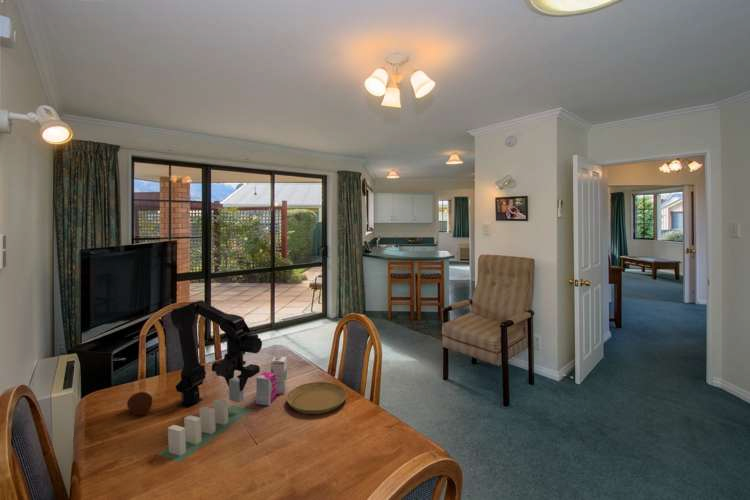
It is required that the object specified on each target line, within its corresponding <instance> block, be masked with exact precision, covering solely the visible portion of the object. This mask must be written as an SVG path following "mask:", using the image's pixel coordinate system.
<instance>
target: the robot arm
mask: <svg viewBox="0 0 750 500" xmlns="http://www.w3.org/2000/svg"><path fill="white" fill-rule="evenodd" d="M197 314H198V315H200V316H202V317H203V318H205V319H207V320H209V321H211V322H213V323H214V324H217V325H218V328H220V330H221V331H222V332H224V334H223V335H222V336H221V339H225V340H226V353H224V356H223V358H221V359H219V360H216V361H215V362H213V363H212V365H211V371H212V372H215V374H216V376H217V377H222V378H224V379H225V382H226V384H227V386H228V388H229V380H230V379H232V378H235V371H236V372H240V374H239V375H237V376H236V379H239V383H240V391H243V392H244V389H245V387H246V384H247V382H248V379H250V378H253V377H254V376H256V375H258V374H259V373H261V370H260V369H261V368H260V365H257V364H252V363H250V364H248V365H246V363H247V362H246V360H244V355H245V354H246V353H249V354H258V353H260V351H261V350H262V346H263V341H262V339H261V338H260V337H259V334H257V333H256V334H255V333H254V334H252V330H251V329H250V327H249V326H248V324H247V323H246V321H245V318H244V317H243V316H241V315H238V314H233V313H227V312H224V311H222V310H220V309H218V308H217V307H215V306H212V305H210V304H208V303H207V302H205V301H204V300H201V299H199V300H196V301H192V302H191V303H189V304H187V305H184V306H180V307H176V308H174V309H172V311H171V312H170V319H171V322H172V325H173V326H174V327H175V328H176V330H177V331H178V336H179V343H180V348H181V355H182V360H183V368H182V370H181V373H180V381H179V382H178V383H177V384H176V385H175V389H176V392H178V393H180V396H181V400H180V401H179V402H178V403H177V405H178V406H182V407H186V408H191V407H192V406H194V405H197V404H198V403H200V402H201V401H203V398H202V397H200V394H201V393H200V386H202V385H203V383H204V380H205V379H206V375H207V372H206V369H205V368H206V367H205V365H204V364H201V363H200V362H199V361H198V354H197V350H196V349H197V347H196V342H195V336H194V329H193V326H194V323H195V320H196V315H197ZM245 365H246V366H245Z"/></svg>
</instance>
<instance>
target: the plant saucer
mask: <svg viewBox="0 0 750 500" xmlns="http://www.w3.org/2000/svg"><path fill="white" fill-rule="evenodd" d="M346 397H347V390H346V388H345V387H343V386H342V385H340V384H337V383H333V382H328V381H327V382H326V381H314V382H308V383H304V384H301V385H298V386H296V387H295V388H292V389H291V390H290V391H289V392H288V393H287V395H286V401H287V404H288V405H289V407H291V408H292V409H293V410H294V411H297V412H299V413H302V414H306V415H321V414H326V413H328V412H331V411H333V410H336V409H337V408H338V407H340V406H341V405H342V404H343V403H344V401H345V400H346V399H347V398H346Z"/></svg>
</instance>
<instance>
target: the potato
mask: <svg viewBox="0 0 750 500" xmlns="http://www.w3.org/2000/svg"><path fill="white" fill-rule="evenodd" d="M153 401H154V400H153V396H152V395H151V394H150V393H148V392H146V391H140V392H136V393H134V394H132V395H131V396H130V397H129V398H128V400H127V402H126V406H127V409H128V410H129V411H130V412H132V413H133V414H134V415H136V416H144V415H146V414H147V413H148V412H149V411H150V410H151V409H152V405H153Z"/></svg>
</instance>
